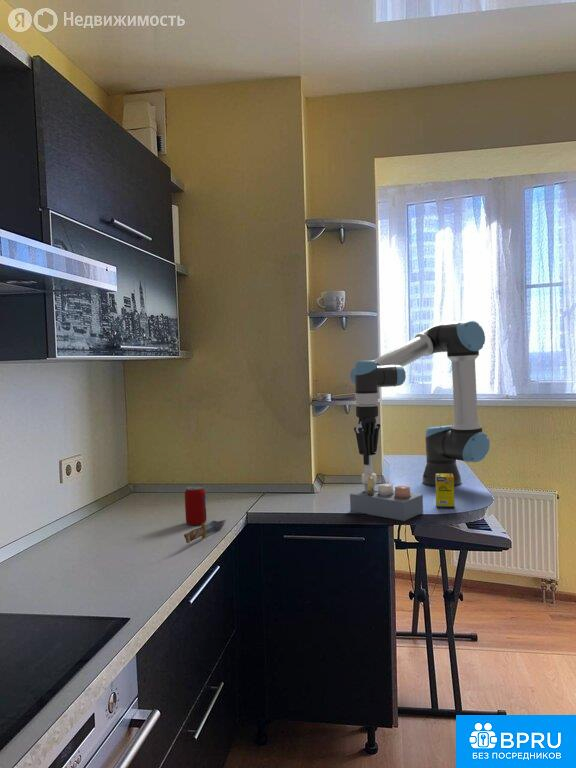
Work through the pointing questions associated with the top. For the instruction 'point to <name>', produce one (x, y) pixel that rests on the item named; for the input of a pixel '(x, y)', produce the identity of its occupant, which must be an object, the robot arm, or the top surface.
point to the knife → (204, 530)
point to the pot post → (370, 486)
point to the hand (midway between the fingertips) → (368, 473)
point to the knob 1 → (365, 482)
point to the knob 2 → (385, 489)
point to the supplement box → (444, 490)
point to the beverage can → (195, 505)
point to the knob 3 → (402, 492)
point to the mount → (387, 505)
